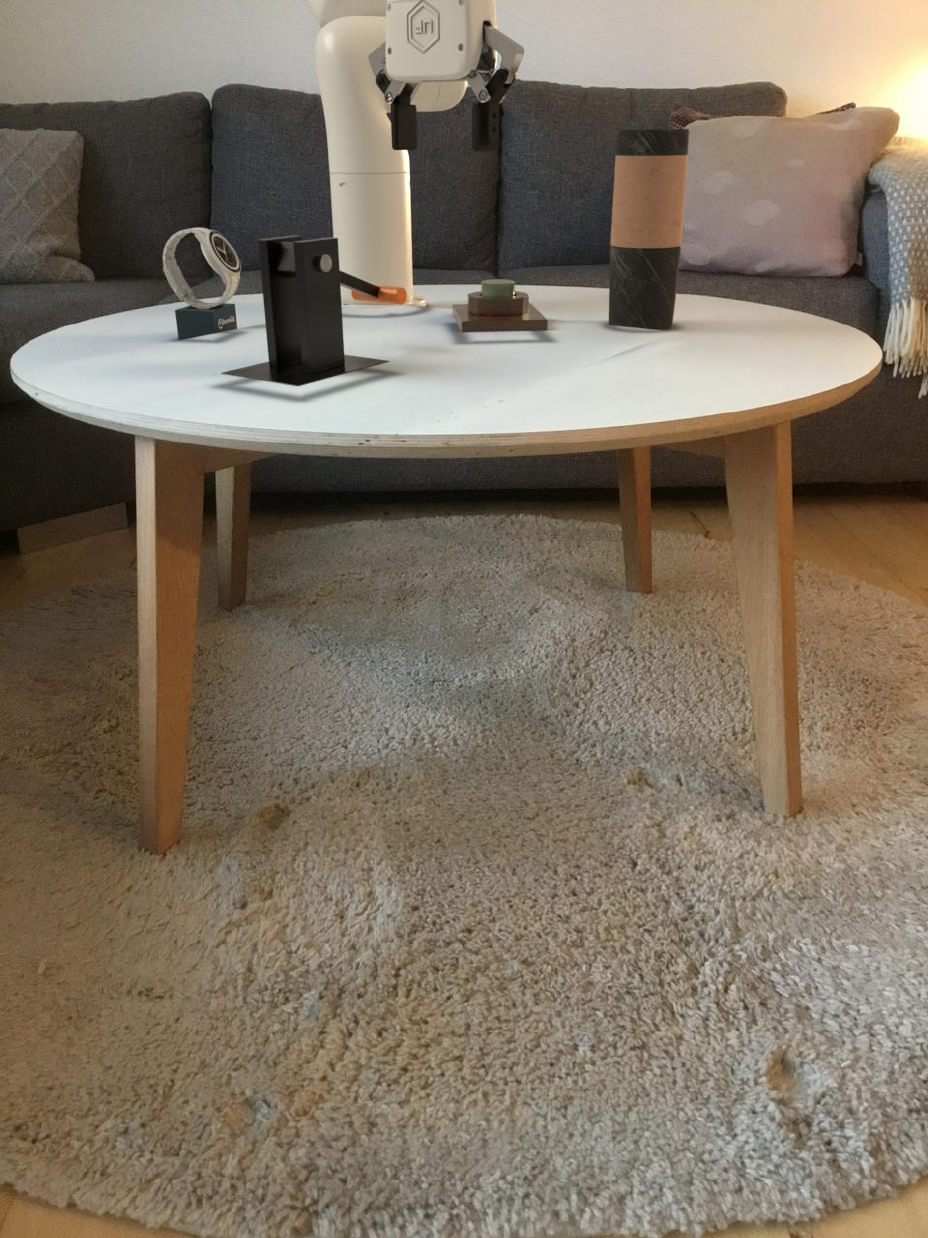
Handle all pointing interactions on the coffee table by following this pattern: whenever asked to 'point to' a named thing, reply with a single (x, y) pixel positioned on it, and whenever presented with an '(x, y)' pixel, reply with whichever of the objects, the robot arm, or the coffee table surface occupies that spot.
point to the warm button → (498, 288)
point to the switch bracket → (303, 315)
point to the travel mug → (647, 226)
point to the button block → (498, 314)
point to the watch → (198, 314)
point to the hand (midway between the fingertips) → (443, 150)
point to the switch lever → (347, 281)
